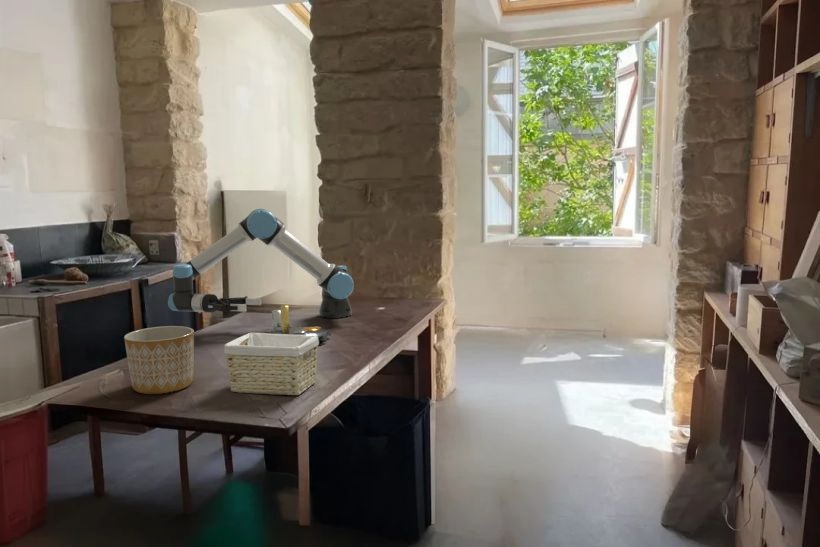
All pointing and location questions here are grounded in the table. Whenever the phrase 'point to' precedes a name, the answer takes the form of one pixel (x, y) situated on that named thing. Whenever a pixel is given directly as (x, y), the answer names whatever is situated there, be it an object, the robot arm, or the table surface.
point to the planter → (160, 358)
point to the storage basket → (272, 363)
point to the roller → (276, 320)
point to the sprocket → (299, 330)
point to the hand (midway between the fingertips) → (253, 304)
